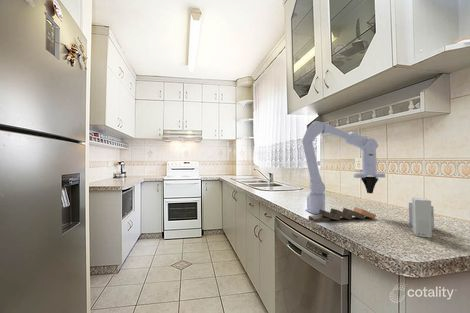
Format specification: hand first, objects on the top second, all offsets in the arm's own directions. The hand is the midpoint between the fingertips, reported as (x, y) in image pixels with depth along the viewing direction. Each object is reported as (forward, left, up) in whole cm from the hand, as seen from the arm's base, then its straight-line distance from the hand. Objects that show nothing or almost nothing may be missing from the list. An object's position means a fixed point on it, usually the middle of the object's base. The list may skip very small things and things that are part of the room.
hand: (369, 193), depth 108 cm
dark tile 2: (+7, -21, -9) cm, 24 cm away
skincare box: (+30, -4, -10) cm, 32 cm away
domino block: (+6, -9, -9) cm, 14 cm away
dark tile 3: (+6, -15, -9) cm, 19 cm away
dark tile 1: (+6, -25, -10) cm, 28 cm away
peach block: (+6, -4, -9) cm, 11 cm away
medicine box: (+22, +4, -10) cm, 25 cm away
